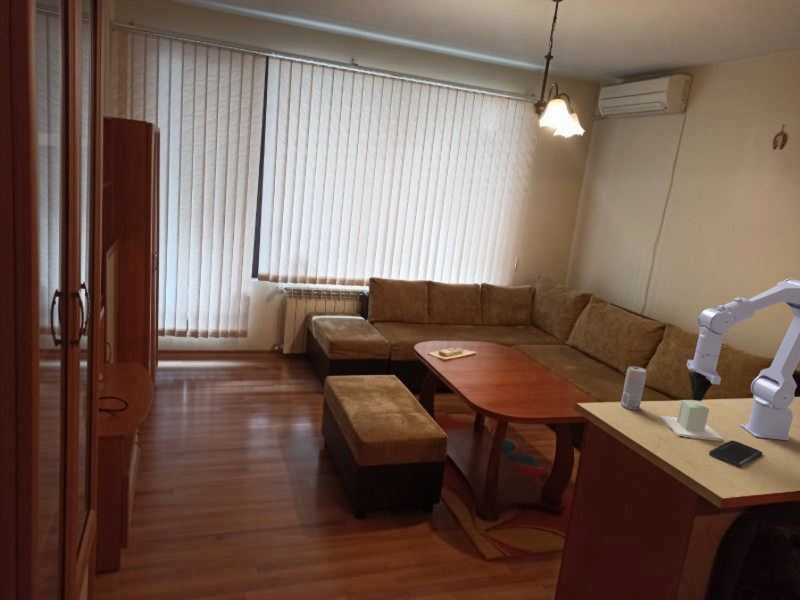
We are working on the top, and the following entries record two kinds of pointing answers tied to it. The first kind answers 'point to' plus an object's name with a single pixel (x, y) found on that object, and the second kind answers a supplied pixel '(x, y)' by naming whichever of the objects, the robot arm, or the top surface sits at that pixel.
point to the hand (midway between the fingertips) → (696, 399)
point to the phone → (735, 453)
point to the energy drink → (633, 387)
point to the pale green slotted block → (692, 415)
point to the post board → (680, 431)
